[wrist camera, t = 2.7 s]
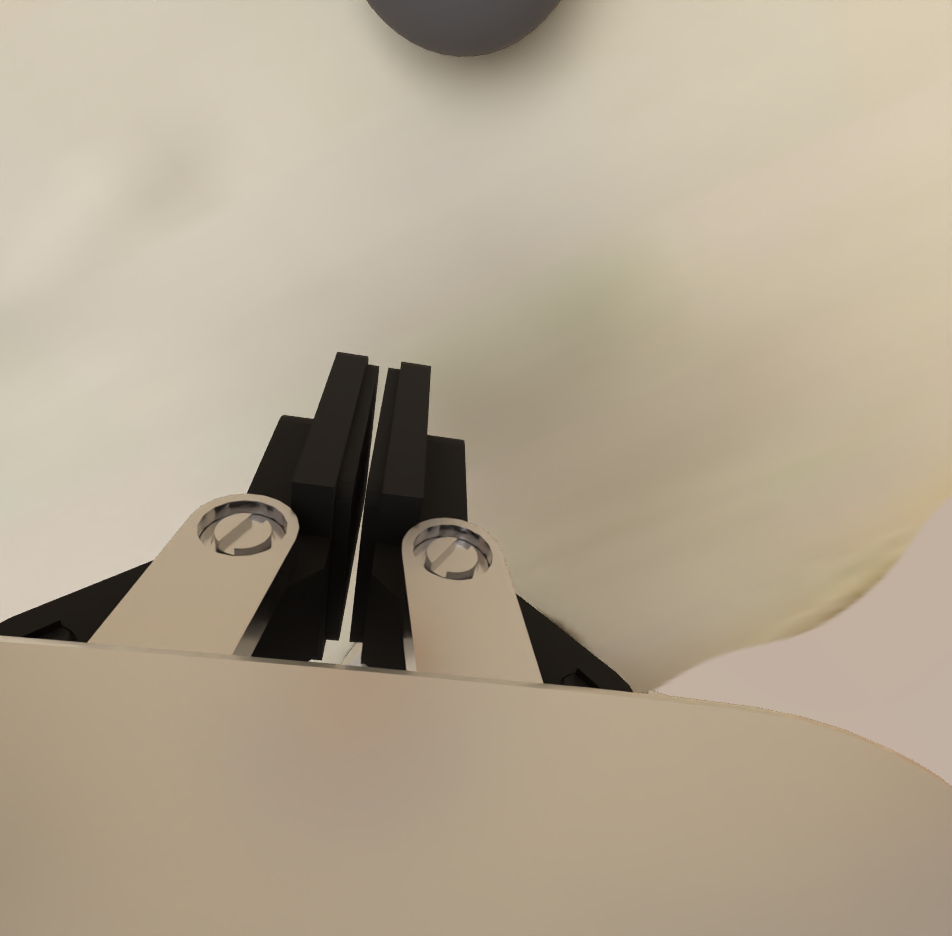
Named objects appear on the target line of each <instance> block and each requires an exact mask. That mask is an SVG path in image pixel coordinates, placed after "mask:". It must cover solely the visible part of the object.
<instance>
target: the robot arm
mask: <svg viewBox="0 0 952 936" xmlns="http://www.w3.org/2000/svg"><path fill="white" fill-rule="evenodd" d="M378 374H379V366H374V365H368V356H362V355H355V354H349V353H342V352H337V355H336V357H335V360H334V363H333V366H332V369H331V372H330V374H329V377H328V380H327V383H326V386H325V389H324V391H323V394H322V397H321V400H320V403H319V406H318V408H317V411H316V414H315V417H314V419H309V418H302V417H295V416H287V415H282V416H281V418H280V420H279V422H278V424H277V426H276V429H275V431H274V433H273V435H272V438H271V440H270V442H269V444H268V447H267V449H266V451H265V453H264V456H263V458H262V460H261V463H260V465H259V467H258V469H257V472H256V474H255V476H254V478H253V481H252V483H251V485H250V487H249V490H248V492H247V494H236V495H228V496H225V497H221V498H217V499H214V500H212V501H210V502H208V503H206V504H204V505H202V506H200V507H199V508H198V509H197V510H196V511H195V512H193V513H192V514H191V515H190V516H189V518H188V519H187V520H186V521H185V522H184V524H183V525H182V526H181V527H180V529H179V530H178V531H177V532H176V534H175V535H174V536H173V537H172V539H171V540H170V541H169V542H168V543H167V545H166V546H165V547H164V548H163V550H162V551H161V552H160V553H159V555H158V556H157V557H156V558H155V559H154V560H153V561H150V562H148V563H145V564H143V565H140V566H138V567H135V568H133V569H130V570H128V571H125V572H123V573H121V574H118V575H116V576H113V577H111V578H108V579H106V580H103V581H101V582H98V583H96V584H93V585H91V586H88V587H86V588H83V589H81V590H78V591H76V592H73V593H71V594H68V595H66V596H63V597H61V598H58V599H56V600H53V601H51V602H48V603H46V604H43V605H41V606H38V607H36V608H33V609H31V610H28V611H26V612H23V613H21V614H18V615H16V616H13V617H11V618H9V619H7V620H5V621H3V622H1V623H0V936H952V786H951V785H949V784H948V783H947V782H946V781H945V780H943V779H942V778H941V777H939V776H938V775H936V774H935V773H933V772H931V771H930V770H928V769H926V768H925V767H923V766H921V765H920V764H918V763H916V762H914V761H913V760H911V759H909V758H907V757H905V756H903V755H901V754H899V753H897V752H896V751H894V750H892V749H889V748H887V747H885V746H883V745H880V744H878V743H875V742H873V741H871V740H868V739H866V738H864V737H861V736H859V735H857V734H854V733H852V732H849V731H847V730H844V729H841V728H837V727H834V726H831V725H828V724H825V723H821V722H818V721H815V720H811V719H808V718H805V717H801V716H796V715H791V714H787V713H782V712H777V711H772V710H767V709H763V708H758V707H751V706H743V705H735V704H728V703H721V702H713V701H706V700H698V699H690V698H683V697H675V696H668V695H665V694H662V693H658V692H655V691H652V690H648V692H647V694H644V693H634V692H633V691H632V689H631V688H630V686H629V685H628V684H627V683H626V682H625V681H624V680H623V679H622V678H621V677H620V676H619V675H618V674H617V673H616V672H615V671H614V670H612V669H611V668H610V667H608V666H607V665H606V664H605V663H603V662H602V661H601V660H600V659H598V658H597V657H596V656H594V655H593V654H592V653H591V652H589V651H588V650H587V649H586V648H584V647H583V646H582V645H581V644H579V643H578V642H577V641H575V640H574V639H573V638H572V637H570V636H569V635H568V634H567V633H565V632H564V631H563V630H562V629H560V628H559V627H558V626H556V625H555V624H554V623H553V622H551V621H550V620H549V619H548V618H546V617H545V616H544V615H543V614H541V613H540V612H539V611H537V610H536V609H535V608H534V607H532V606H531V605H530V604H529V603H527V602H526V601H525V600H524V599H522V598H521V597H520V596H518V595H517V594H516V593H515V590H514V587H513V584H512V581H511V578H510V574H509V571H508V568H507V565H506V562H505V558H504V555H503V552H502V550H501V548H500V546H499V544H498V542H497V541H496V540H495V539H494V538H493V537H492V536H491V535H490V534H489V533H488V532H487V531H485V530H484V529H482V528H480V527H478V526H477V525H475V524H472V523H469V522H468V520H467V493H466V466H465V444H464V440H460V439H452V438H445V437H438V436H431V435H427V428H428V410H429V392H430V374H431V366H426V365H420V364H413V363H407V362H401V368H400V369H394V368H388V373H387V379H386V384H385V390H384V395H383V401H382V406H381V412H380V417H379V423H378V428H377V434H376V439H375V445H374V450H373V456H372V461H371V467H370V472H369V478H368V483H367V475H368V466H369V457H370V448H371V439H372V430H373V420H374V411H375V402H376V393H377V384H378ZM366 485H367V490H366ZM365 493H366V497H365ZM364 500H365V504H364ZM363 506H364V513H363V522H362V531H361V540H360V550H359V559H358V568H357V577H356V586H355V596H354V605H353V614H352V623H351V632H350V642H357V643H356V644H355V645H354V647H353V648H352V649H351V651H350V652H349V653H348V655H347V656H346V657H345V659H344V660H343V663H342V665H339V664H328V663H317V662H308V661H310V660H311V659H313V660H322V657H323V652H324V647H325V642H326V639H327V640H337V641H339V637H340V632H341V626H342V621H343V616H344V610H345V605H346V599H347V594H348V588H349V583H350V577H351V572H352V566H353V561H354V555H355V550H356V544H357V539H358V533H359V528H360V522H361V517H362V511H363Z"/></svg>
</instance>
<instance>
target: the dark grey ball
mask: <svg viewBox="0 0 952 936" xmlns="http://www.w3.org/2000/svg"><path fill="white" fill-rule="evenodd" d="M367 1H368V3H369V4H370V6H371V7H372V8H373V9H374V11H375V12H376V13H377V14H378V15H379V16H380V17H381V18H382V19H383V21H384V22H385V23H387V24H388V25H389V26H390V27H391V28H392V29H394V30H395V31H396V32H397V33H398V34H400V35H401V36H403V37H404V38H406V39H407V40H409V41H410V42H412V43H414V44H416V45H418V46H420V47H422V48H425V49H427V50H430V51H433V52H436V53H440V54H444V55H451V56H458V57H459V56H478V55H484V54H489V53H492V52H495V51H498V50H501V49H504V48H506V47H508V46H510V45H512V44H514V43H516V42H518V41H519V40H521V39H522V38H523V37H525V36H526V35H528V34H529V33H530V32H532V31H533V30H534V29H535V28H536V27H537V26H538V25H539V24H541V23H542V22H543V21H544V20H545V19H546V18H547V16H548V15H549V14H550V13H551V12H552V10H553V9H554V8H555V7H556V6H557V4H558V3H559V1H560V0H367Z"/></svg>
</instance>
